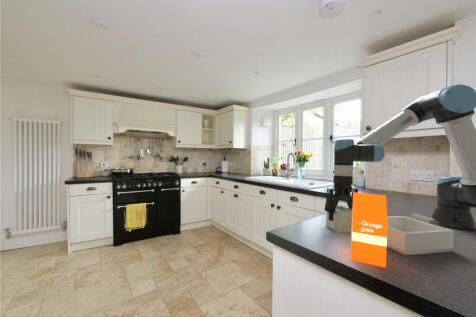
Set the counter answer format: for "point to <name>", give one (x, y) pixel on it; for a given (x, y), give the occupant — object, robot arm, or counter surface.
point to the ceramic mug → (424, 219)
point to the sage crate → (341, 220)
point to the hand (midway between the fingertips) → (341, 227)
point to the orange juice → (369, 229)
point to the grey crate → (417, 236)
